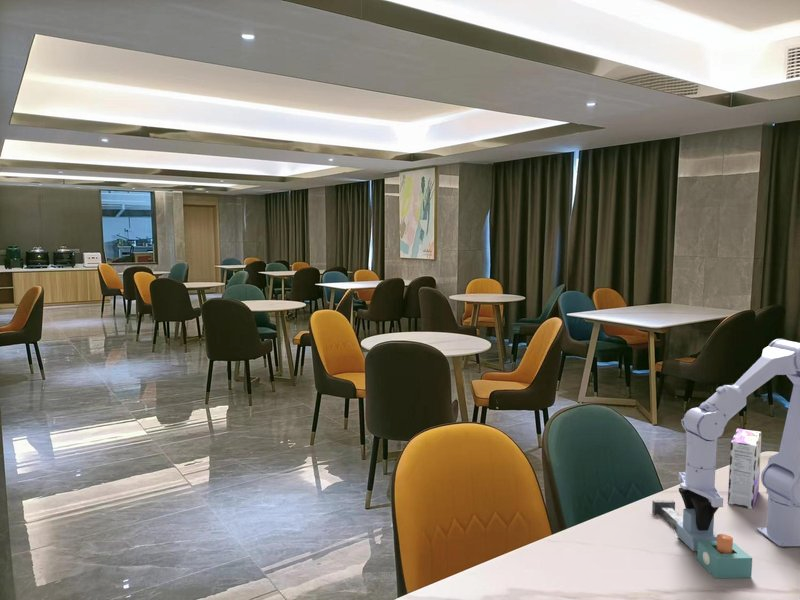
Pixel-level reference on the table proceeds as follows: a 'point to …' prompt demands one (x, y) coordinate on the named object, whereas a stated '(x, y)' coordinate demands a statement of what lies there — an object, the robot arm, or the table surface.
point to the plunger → (724, 544)
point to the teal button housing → (724, 561)
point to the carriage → (694, 530)
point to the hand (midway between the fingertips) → (698, 525)
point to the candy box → (744, 468)
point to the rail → (667, 511)
